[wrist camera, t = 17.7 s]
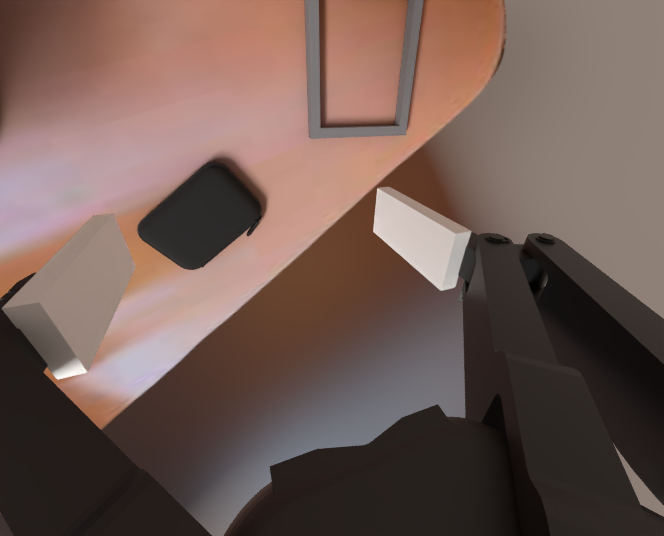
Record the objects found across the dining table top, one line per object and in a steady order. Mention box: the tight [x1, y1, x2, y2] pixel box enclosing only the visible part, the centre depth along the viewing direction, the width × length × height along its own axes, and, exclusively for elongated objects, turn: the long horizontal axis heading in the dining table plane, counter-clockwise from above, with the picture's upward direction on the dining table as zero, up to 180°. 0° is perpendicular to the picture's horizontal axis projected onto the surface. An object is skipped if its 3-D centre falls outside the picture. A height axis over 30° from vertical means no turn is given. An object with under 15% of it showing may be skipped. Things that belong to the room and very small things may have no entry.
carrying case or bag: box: [137, 162, 262, 270], centre depth 39 cm, size 11×3×15 cm
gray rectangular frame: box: [305, 0, 424, 139], centre depth 36 cm, size 14×16×2 cm
